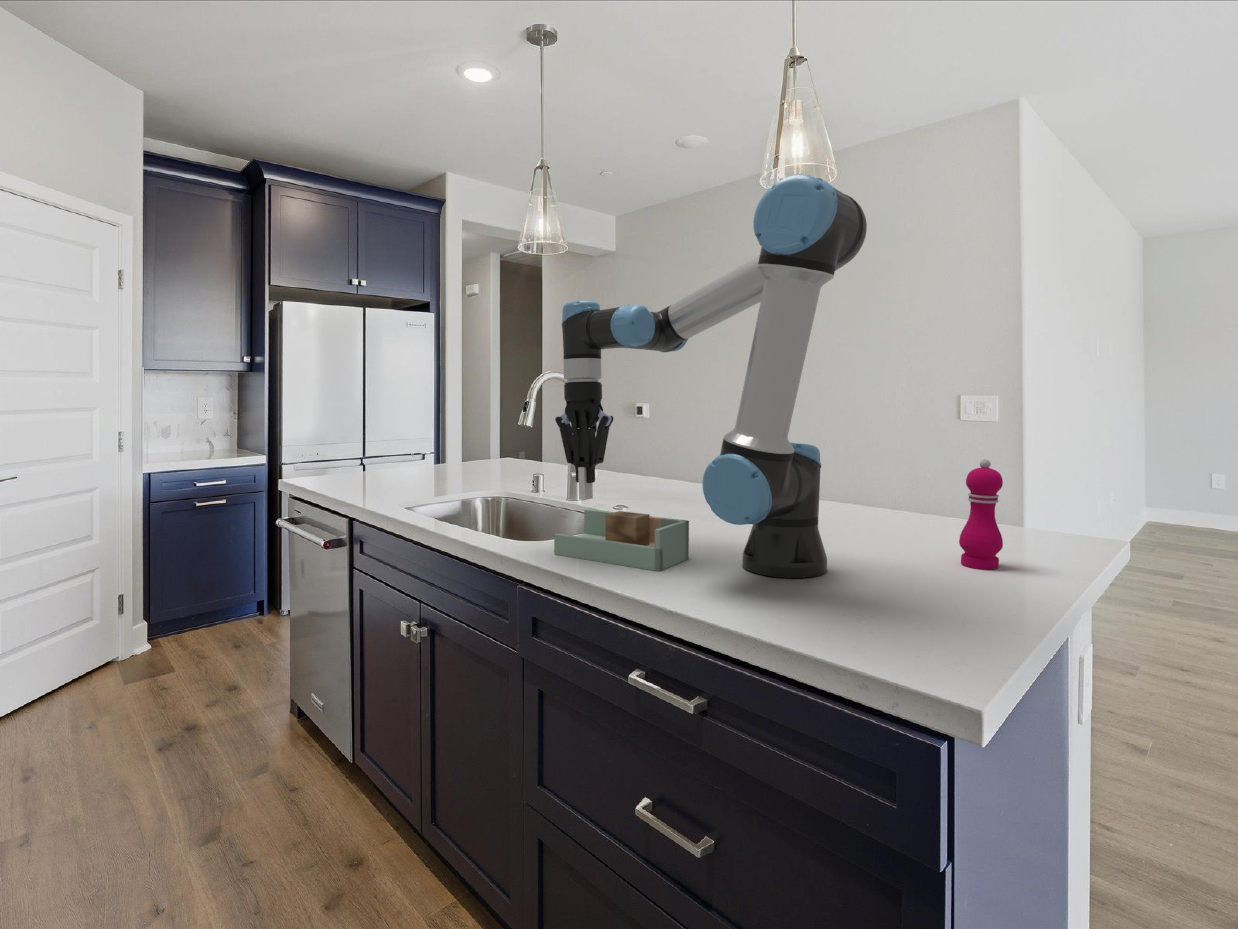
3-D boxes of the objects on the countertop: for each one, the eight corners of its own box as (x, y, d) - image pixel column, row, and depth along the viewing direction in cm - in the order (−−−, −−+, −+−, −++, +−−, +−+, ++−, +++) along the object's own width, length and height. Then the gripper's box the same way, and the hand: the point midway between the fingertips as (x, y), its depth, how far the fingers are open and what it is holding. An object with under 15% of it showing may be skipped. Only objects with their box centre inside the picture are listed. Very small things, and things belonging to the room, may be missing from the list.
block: (649, 544, 133) (649, 514, 133) (635, 549, 129) (636, 518, 128) (619, 540, 137) (619, 511, 136) (605, 545, 133) (605, 514, 132)
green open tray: (688, 558, 132) (688, 520, 132) (659, 571, 123) (659, 530, 122) (587, 543, 145) (587, 509, 145) (554, 554, 136) (554, 517, 135)
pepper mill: (1007, 571, 123) (1014, 461, 121) (964, 569, 125) (970, 460, 123) (993, 561, 130) (1000, 457, 128) (953, 560, 132) (958, 457, 130)
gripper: (620, 380, 135) (623, 498, 137) (568, 382, 142) (571, 495, 144) (599, 379, 129) (602, 503, 131) (545, 382, 136) (549, 499, 138)
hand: (585, 498), depth 137 cm, fingers closed
